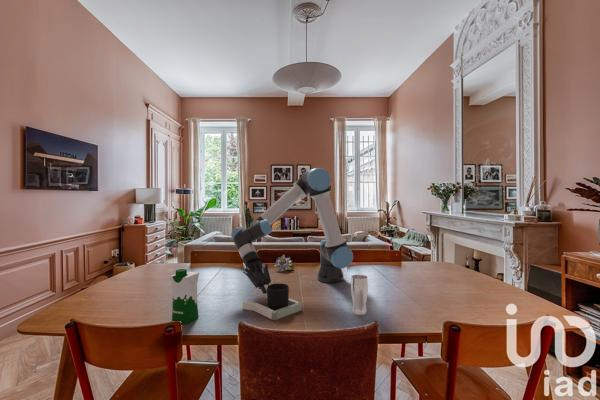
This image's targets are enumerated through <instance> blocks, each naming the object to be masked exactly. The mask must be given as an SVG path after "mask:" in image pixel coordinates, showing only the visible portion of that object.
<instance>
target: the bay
mask: <svg viewBox="0 0 600 400" xmlns="http://www.w3.org/2000/svg"><path fill="white" fill-rule="evenodd" d="M302 303H303V302H300V301H297V300H295V299H292V298H290V297H289V300H288V306H287V307H284V308H281V309H278V310H275V311H274V310H272V309H270V308H268V306H265V305H263V304H261V303H258V302H254V301H248V300H244V301H242V309H243V310H248V311H253V312H256V313H258V314H259V315H262V316H264V317H265V318H268V319H270V320H273V321H277V320H279V319H282V318H284V317H287V316H290V315H292V314H296V313H298V312H301V311H302V310H303V304H302Z"/></svg>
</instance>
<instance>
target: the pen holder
mask: <svg viewBox="0 0 600 400" xmlns="http://www.w3.org/2000/svg"><path fill="white" fill-rule="evenodd" d="M289 293H290V287H289V285H288V284H286V283H279V282H278V283H272V284H271V283H270V284H269V286H268V288H267V298H266V303H267V304H266V305H267V306H266V307H267V308H270V309H272V310H274V311H275V310H278V309H281V308H284V307H287V306H288V300H289V298H290V297H289V295H290V294H289Z"/></svg>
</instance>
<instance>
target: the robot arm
mask: <svg viewBox="0 0 600 400" xmlns="http://www.w3.org/2000/svg"><path fill="white" fill-rule="evenodd" d="M331 178H332V177H331V174H330V173H329V171H327V170H326V169H324V168H322V167H315V168H312V169H308V170H306V171H305V172H304V173H303V174H302V175H301V176H300V177H299V178H298V179H296V181H295V182H293V186H292V187H291V188H290V189H289V190H287V192H285V193H284V194H283V195H282V196H280V198H278V199H277V200H276V201H275V202H274V203H272V204H271V206H269V207H267V209H266V210H264V211H263V213H261V214H260V215H259V216H258V217H257V218H256V219H254V220H253V221H251V222H250V224H249V227H246V228H245V227H244V226H239V227H238V226H237V227H235V228H234V229H233V230H232V231H231V233H230V236H231V238H232V241H233V243H234V245H235V247H236V249H237V252H238V253H239V255H240V257H241V259H242V262H243V264H244V266H245V268H244V269H243V270H242V274H244V275H246V276H247V278H248V279H249V280H250V282H251V283H252V285H253V286H254V287H255V288H257V289H259V290H260V291H261V292H262V294H263V295H265V297H266V299H267V288H268V286H269V285H271V282H272V280H271V275H270V271H269V264H267V263H266V264H263V262H262V261H261V259H260V256H259V253H258V252H257V250H256V248H255V247H254V244H253V243H254V242H255V241H258V240H259V239H262V238H263V237H266V236H268V235H269V234H271V233H272V232H273V228H272V226H271V225H272V224H273V223H275V222H276V220H277V219H279V218H280V217H281V216H282V215H283V214H284V213H286V211H287V210H289V209H291V207H292V206H293V205H294V204H296V203H297V202H298V201H299V200H301V198H302V197H306V196H308V195H309V197H310V198H312V199H313V201H314V204H315V207H316V211H317V214H318V217H319V220H320V225H321V227H322V231H323V234H324V237H325V238H324V239H321V241H320V245H319V247H320V248H319V249H320V252H319V253H320V255H319V256H320V264H319V265H320V266H319V269H318V272H317V277H316V278H317V280H318V281H320V282H322V283H330V284H331V283H333V284H336V283H341V282H343V281H344V273H343V270H342V269H345V268H348V267H349V266H350V265H351V264H352V262H353V259H354V254H353V251H352V250H351V248H349V247H348V242H347V239H346V238H344V237H343V235H342V233H341V228H340V225H339V222H338V219H337V216H336V211H335V209H334V208H335V207H334V206H333V201H332V198H331V193H332V189H331V188H332V187H331V182H332V181H331V180H332V179H331Z"/></svg>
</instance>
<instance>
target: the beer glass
mask: <svg viewBox="0 0 600 400" xmlns="http://www.w3.org/2000/svg"><path fill="white" fill-rule="evenodd" d="M350 279H351V280H350V293H351V298H352V299H351V300H352V309H351V313H352V314H353V315H354V316H355V315H356V316H362V317H363V316H366V315H367V314H368V311H367V299H368V292H369V282H368V276H367V275H363V274H353V275H351V278H350Z"/></svg>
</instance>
